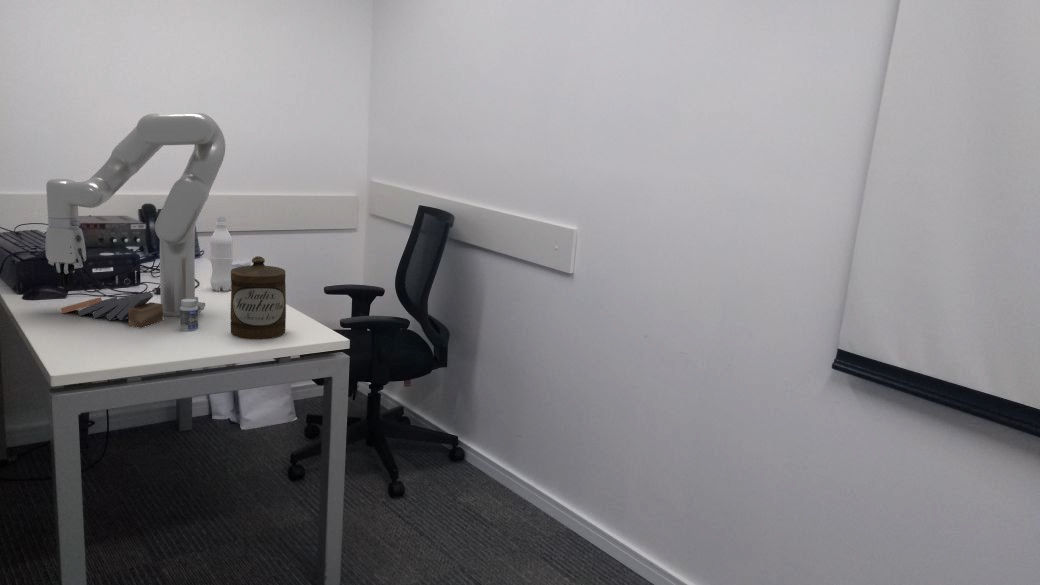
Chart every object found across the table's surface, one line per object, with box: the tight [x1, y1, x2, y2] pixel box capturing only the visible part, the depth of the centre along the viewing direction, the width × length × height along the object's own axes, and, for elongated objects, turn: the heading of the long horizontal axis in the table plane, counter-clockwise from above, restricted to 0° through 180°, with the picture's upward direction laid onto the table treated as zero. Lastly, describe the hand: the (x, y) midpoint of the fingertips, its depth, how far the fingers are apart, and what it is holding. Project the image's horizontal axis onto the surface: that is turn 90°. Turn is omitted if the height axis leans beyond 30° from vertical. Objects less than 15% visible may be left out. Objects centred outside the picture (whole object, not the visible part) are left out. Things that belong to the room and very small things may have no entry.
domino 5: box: [117, 291, 154, 321], centre depth 220 cm, size 2×5×10 cm
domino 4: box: [105, 293, 141, 322], centre depth 221 cm, size 2×5×10 cm
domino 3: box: [91, 295, 130, 319], centre depth 222 cm, size 2×5×10 cm
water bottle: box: [209, 216, 234, 292], centre depth 263 cm, size 7×7×25 cm
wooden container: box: [230, 255, 287, 341], centre depth 218 cm, size 15×15×22 cm
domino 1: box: [60, 297, 103, 314], centre depth 224 cm, size 2×5×10 cm
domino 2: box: [77, 296, 118, 317], centre depth 223 cm, size 2×5×10 cm
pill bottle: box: [179, 299, 199, 332], centre depth 217 cm, size 5×5×8 cm
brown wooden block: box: [128, 302, 164, 329], centre depth 220 cm, size 4×9×5 cm, turn 167°
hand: (66, 285), depth 224 cm, fingers closed
